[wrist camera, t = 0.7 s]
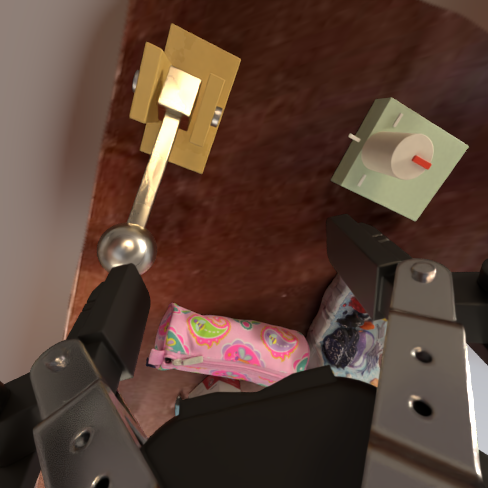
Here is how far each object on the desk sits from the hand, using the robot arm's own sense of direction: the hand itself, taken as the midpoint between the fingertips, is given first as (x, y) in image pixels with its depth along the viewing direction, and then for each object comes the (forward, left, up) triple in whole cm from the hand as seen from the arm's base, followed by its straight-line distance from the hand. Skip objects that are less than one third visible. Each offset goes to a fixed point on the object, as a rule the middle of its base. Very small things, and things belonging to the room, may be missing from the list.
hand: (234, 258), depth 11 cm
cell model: (+28, +11, -23) cm, 38 cm away
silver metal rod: (-3, -4, -11) cm, 12 cm away
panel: (+6, +20, -23) cm, 31 cm away
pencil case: (+23, -7, -23) cm, 33 cm away
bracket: (-7, 0, -23) cm, 24 cm away
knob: (+4, +18, -20) cm, 27 cm away
